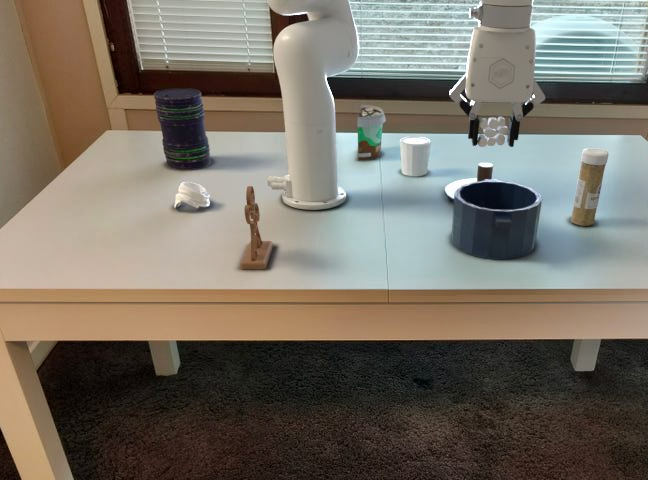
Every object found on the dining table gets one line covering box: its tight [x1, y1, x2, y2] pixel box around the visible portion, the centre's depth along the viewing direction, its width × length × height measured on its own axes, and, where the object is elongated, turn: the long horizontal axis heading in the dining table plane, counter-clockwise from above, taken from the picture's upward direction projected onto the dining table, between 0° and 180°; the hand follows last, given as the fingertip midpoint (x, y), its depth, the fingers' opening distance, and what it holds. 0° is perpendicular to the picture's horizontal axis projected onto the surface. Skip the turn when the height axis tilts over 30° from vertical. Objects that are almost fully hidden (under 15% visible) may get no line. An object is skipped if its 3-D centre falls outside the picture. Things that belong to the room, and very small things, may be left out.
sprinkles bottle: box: [570, 147, 609, 227], centre depth 119 cm, size 5×5×13 cm
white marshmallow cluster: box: [477, 115, 510, 148], centre depth 103 cm, size 5×1×4 cm, turn 94°
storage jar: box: [153, 87, 212, 171], centre depth 142 cm, size 10×10×15 cm
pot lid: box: [444, 162, 494, 202], centre depth 131 cm, size 16×16×7 cm
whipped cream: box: [173, 181, 211, 210], centre depth 124 cm, size 8×7×5 cm
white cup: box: [399, 136, 432, 177], centre depth 142 cm, size 7×7×7 cm
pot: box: [451, 178, 543, 260], centre depth 112 cm, size 15×20×8 cm
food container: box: [356, 104, 387, 161], centre depth 151 cm, size 12×6×10 cm, turn 179°
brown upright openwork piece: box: [240, 185, 274, 270], centre depth 104 cm, size 9×4×12 cm, turn 1°
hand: (492, 142), depth 104 cm, fingers closed on white marshmallow cluster, 5 cm apart
